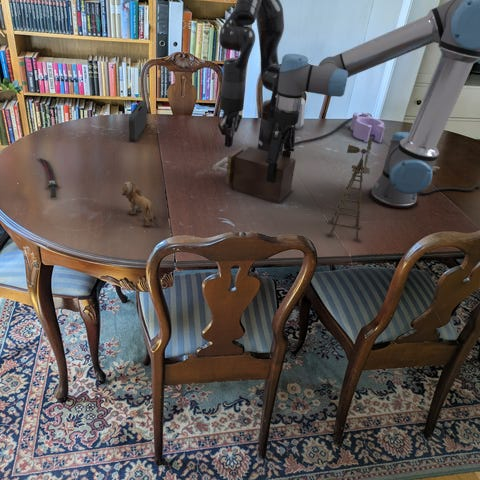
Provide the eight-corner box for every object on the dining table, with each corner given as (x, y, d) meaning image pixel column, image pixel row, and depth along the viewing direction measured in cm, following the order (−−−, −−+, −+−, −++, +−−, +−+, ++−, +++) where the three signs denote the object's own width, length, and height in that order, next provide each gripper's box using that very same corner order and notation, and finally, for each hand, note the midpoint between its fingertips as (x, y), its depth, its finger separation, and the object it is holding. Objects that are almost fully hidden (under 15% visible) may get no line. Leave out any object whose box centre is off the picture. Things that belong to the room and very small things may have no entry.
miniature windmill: (357, 241, 135) (384, 143, 119) (328, 236, 136) (351, 138, 120) (357, 226, 143) (382, 132, 127) (330, 221, 144) (351, 127, 128)
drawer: (211, 179, 159) (212, 152, 154) (224, 169, 167) (226, 143, 162) (267, 196, 152) (271, 168, 147) (278, 185, 160) (282, 159, 155)
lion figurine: (118, 210, 138) (116, 182, 133) (132, 204, 141) (131, 177, 137) (151, 229, 130) (150, 201, 126) (165, 223, 134) (165, 195, 129)
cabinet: (232, 189, 157) (235, 156, 150) (246, 177, 165) (249, 146, 159) (278, 203, 151) (283, 170, 145) (290, 191, 159) (295, 159, 153)
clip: (343, 126, 223) (346, 112, 219) (367, 127, 225) (371, 113, 221) (360, 142, 206) (364, 127, 202) (386, 142, 209) (390, 127, 205)
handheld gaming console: (140, 122, 202) (140, 99, 196) (147, 123, 202) (146, 100, 196) (128, 141, 182) (127, 116, 177) (135, 142, 182) (134, 117, 177)
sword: (61, 197, 141) (61, 193, 140) (50, 198, 139) (50, 194, 139) (49, 160, 164) (48, 156, 163) (39, 160, 163) (39, 157, 162)
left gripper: (231, 87, 153) (227, 137, 162) (211, 96, 143) (208, 149, 152) (252, 92, 151) (246, 143, 160) (233, 101, 140) (229, 155, 150)
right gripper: (289, 98, 151) (280, 161, 163) (260, 115, 133) (252, 185, 145) (311, 103, 149) (300, 166, 160) (284, 121, 131) (274, 191, 142)
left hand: (228, 146), depth 156 cm, fingers closed
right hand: (277, 175), depth 153 cm, fingers closed on cabinet, 11 cm apart
